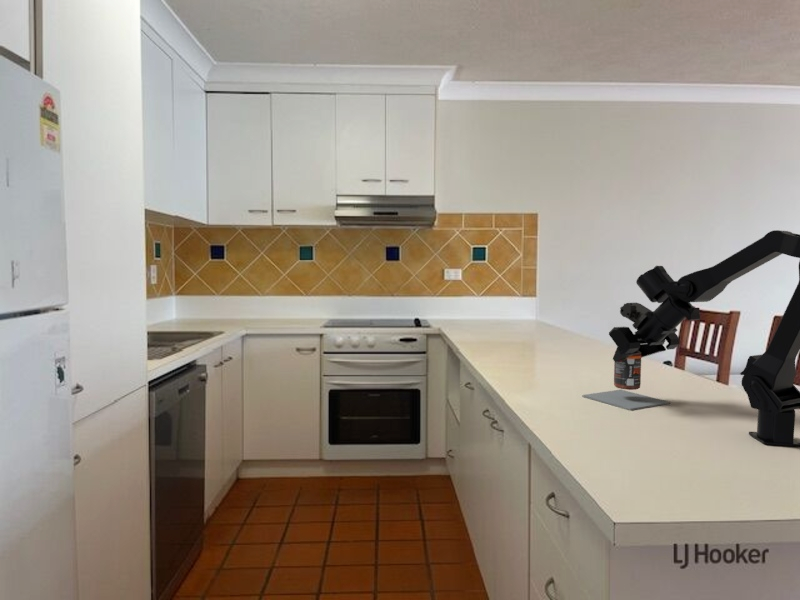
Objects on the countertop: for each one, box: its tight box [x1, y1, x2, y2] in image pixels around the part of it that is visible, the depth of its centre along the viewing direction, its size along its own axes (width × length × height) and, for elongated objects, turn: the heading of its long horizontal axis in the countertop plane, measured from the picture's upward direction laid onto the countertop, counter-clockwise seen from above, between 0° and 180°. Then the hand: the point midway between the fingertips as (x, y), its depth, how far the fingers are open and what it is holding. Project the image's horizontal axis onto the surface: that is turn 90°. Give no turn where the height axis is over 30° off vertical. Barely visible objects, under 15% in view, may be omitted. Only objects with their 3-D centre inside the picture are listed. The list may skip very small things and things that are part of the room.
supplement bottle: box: [613, 350, 642, 391], centre depth 132 cm, size 6×6×11 cm
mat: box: [581, 389, 671, 411], centre depth 132 cm, size 14×14×1 cm
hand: (623, 359), depth 133 cm, fingers closed on supplement bottle, 6 cm apart
